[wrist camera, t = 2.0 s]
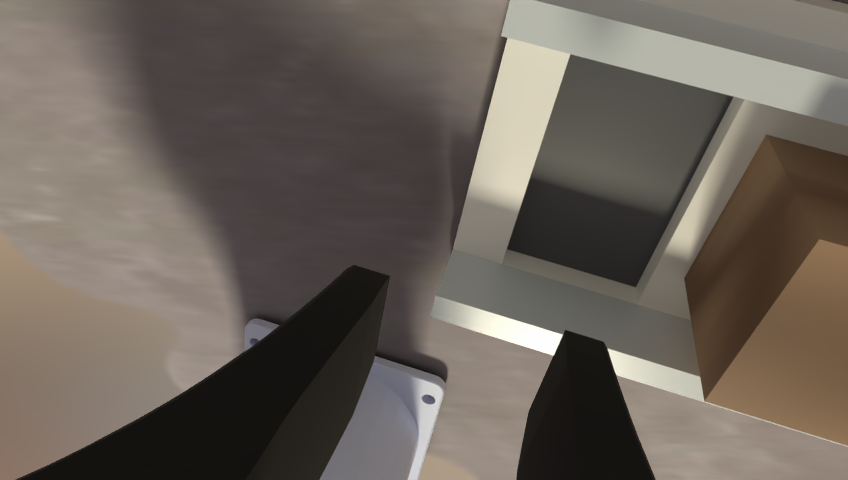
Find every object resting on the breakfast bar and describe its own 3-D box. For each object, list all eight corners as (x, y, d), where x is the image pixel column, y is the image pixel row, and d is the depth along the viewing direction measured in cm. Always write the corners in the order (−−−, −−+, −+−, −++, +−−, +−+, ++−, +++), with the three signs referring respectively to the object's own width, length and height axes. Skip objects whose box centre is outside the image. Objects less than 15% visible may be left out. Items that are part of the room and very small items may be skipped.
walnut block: (849, 326, 16) (917, 467, 13) (683, 278, 16) (704, 401, 13) (966, 187, 13) (1092, 315, 10) (765, 134, 14) (819, 239, 10)
